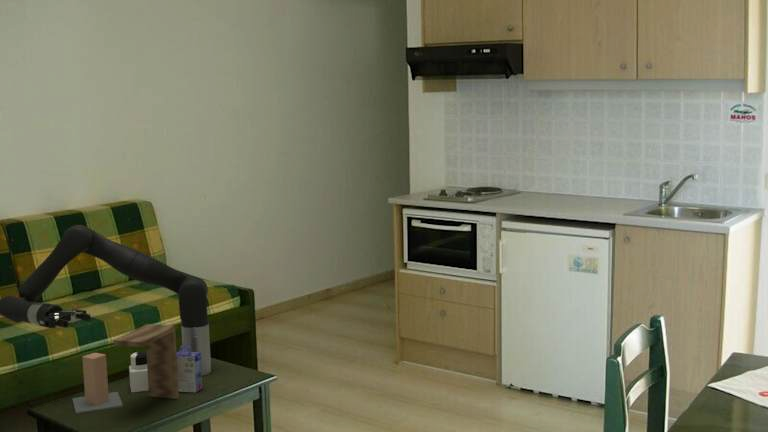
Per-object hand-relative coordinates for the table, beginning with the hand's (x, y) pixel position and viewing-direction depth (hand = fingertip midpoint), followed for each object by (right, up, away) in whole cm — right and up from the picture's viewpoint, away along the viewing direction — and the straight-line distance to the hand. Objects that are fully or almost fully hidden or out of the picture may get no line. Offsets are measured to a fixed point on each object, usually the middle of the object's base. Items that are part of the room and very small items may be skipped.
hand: (78, 321), depth 289 cm
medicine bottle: (+16, -24, +15) cm, 32 cm away
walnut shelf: (+23, -26, -3) cm, 35 cm away
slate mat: (+6, -26, +1) cm, 27 cm away
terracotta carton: (+6, -25, +1) cm, 26 cm away
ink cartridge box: (+31, -24, +12) cm, 41 cm away
